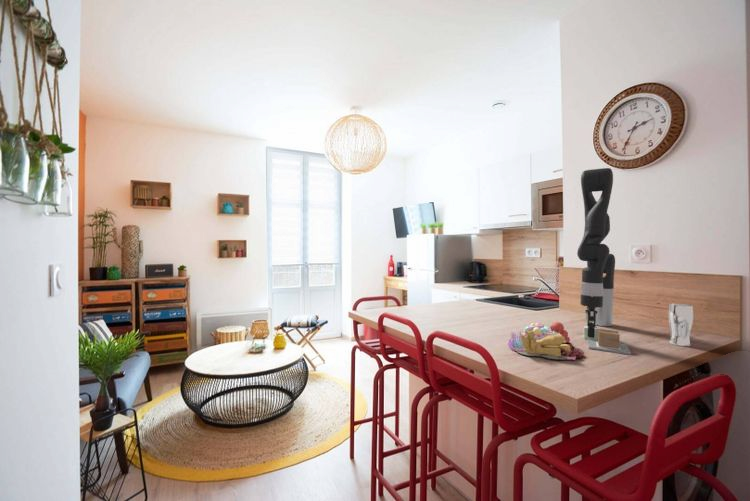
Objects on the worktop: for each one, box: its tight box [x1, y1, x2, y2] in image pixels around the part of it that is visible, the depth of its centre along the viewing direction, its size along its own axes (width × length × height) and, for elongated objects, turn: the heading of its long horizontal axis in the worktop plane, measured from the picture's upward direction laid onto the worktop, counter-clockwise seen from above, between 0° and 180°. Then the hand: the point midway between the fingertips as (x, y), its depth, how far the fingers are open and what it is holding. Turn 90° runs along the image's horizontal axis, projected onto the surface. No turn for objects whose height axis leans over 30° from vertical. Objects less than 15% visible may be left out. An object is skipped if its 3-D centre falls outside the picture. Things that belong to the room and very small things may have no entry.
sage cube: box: [583, 325, 599, 341], centre depth 136 cm, size 4×4×4 cm
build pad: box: [587, 339, 632, 356], centre depth 124 cm, size 12×12×1 cm
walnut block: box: [598, 328, 621, 349], centre depth 124 cm, size 6×6×5 cm
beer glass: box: [668, 302, 694, 347], centre depth 130 cm, size 7×7×15 cm
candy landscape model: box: [507, 321, 586, 361], centre depth 121 cm, size 25×24×9 cm
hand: (590, 334), depth 136 cm, fingers open, 8 cm apart
